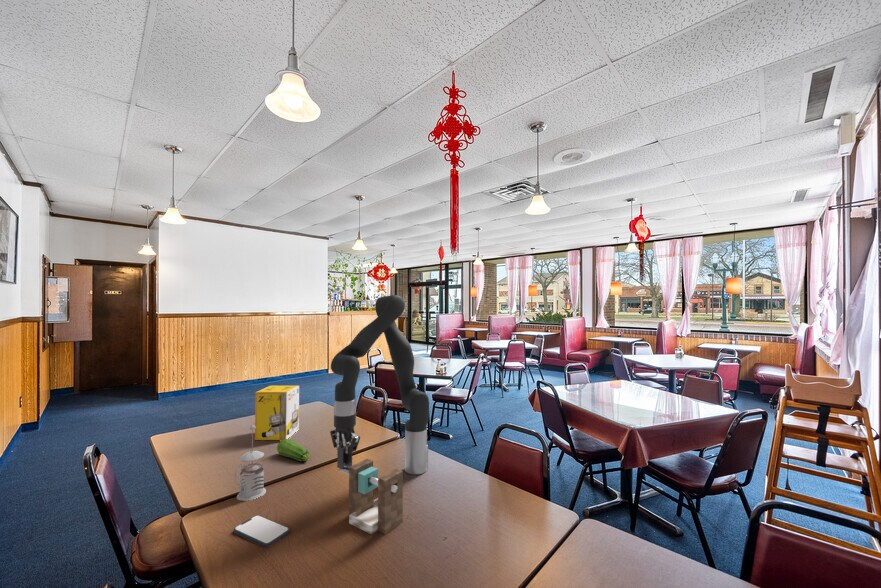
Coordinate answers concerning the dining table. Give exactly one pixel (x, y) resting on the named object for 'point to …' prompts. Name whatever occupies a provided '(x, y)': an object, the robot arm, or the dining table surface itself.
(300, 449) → the vegetable
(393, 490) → the shaft
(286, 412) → the packaging box
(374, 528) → the bearing frame
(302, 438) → the dining table surface
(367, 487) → the block
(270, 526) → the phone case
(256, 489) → the french press
